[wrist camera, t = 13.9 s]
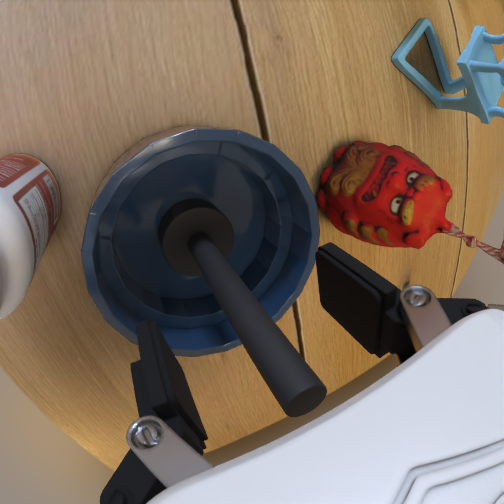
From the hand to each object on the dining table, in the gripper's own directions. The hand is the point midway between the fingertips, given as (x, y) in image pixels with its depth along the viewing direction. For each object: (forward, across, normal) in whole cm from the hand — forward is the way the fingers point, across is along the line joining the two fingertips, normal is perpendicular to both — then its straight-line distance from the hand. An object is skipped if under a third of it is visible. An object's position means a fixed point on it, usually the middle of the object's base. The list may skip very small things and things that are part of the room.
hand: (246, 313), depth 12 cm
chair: (+10, -25, -8) cm, 28 cm away
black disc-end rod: (+9, 0, 0) cm, 9 cm away
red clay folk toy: (+10, -13, +1) cm, 16 cm away
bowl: (+10, 0, 0) cm, 10 cm away
